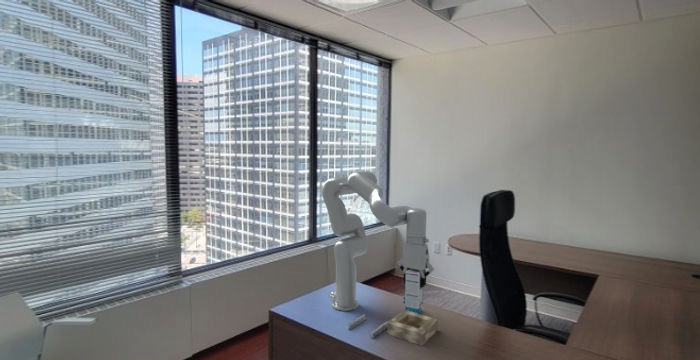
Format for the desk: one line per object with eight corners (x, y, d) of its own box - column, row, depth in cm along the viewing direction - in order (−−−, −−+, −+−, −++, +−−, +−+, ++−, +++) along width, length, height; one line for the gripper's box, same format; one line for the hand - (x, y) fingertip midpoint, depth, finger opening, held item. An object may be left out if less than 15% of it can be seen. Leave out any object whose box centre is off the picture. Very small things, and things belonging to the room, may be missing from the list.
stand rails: (347, 329, 151) (347, 324, 151) (363, 318, 161) (363, 314, 161) (372, 338, 144) (373, 333, 144) (388, 326, 154) (388, 321, 154)
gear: (413, 316, 160) (401, 295, 165) (404, 322, 163) (393, 301, 168) (427, 312, 168) (415, 292, 173) (418, 318, 171) (407, 298, 176)
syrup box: (419, 309, 145) (420, 273, 144) (404, 306, 147) (405, 270, 146) (422, 304, 150) (424, 269, 149) (408, 301, 153) (409, 266, 151)
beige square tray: (386, 333, 148) (387, 322, 148) (404, 319, 160) (404, 309, 160) (422, 345, 139) (422, 334, 139) (437, 330, 152) (437, 319, 151)
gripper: (440, 241, 145) (438, 286, 146) (400, 235, 155) (399, 277, 156) (432, 245, 139) (431, 292, 140) (391, 238, 148) (390, 282, 150)
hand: (414, 284), depth 148 cm, fingers closed on syrup box, 6 cm apart
